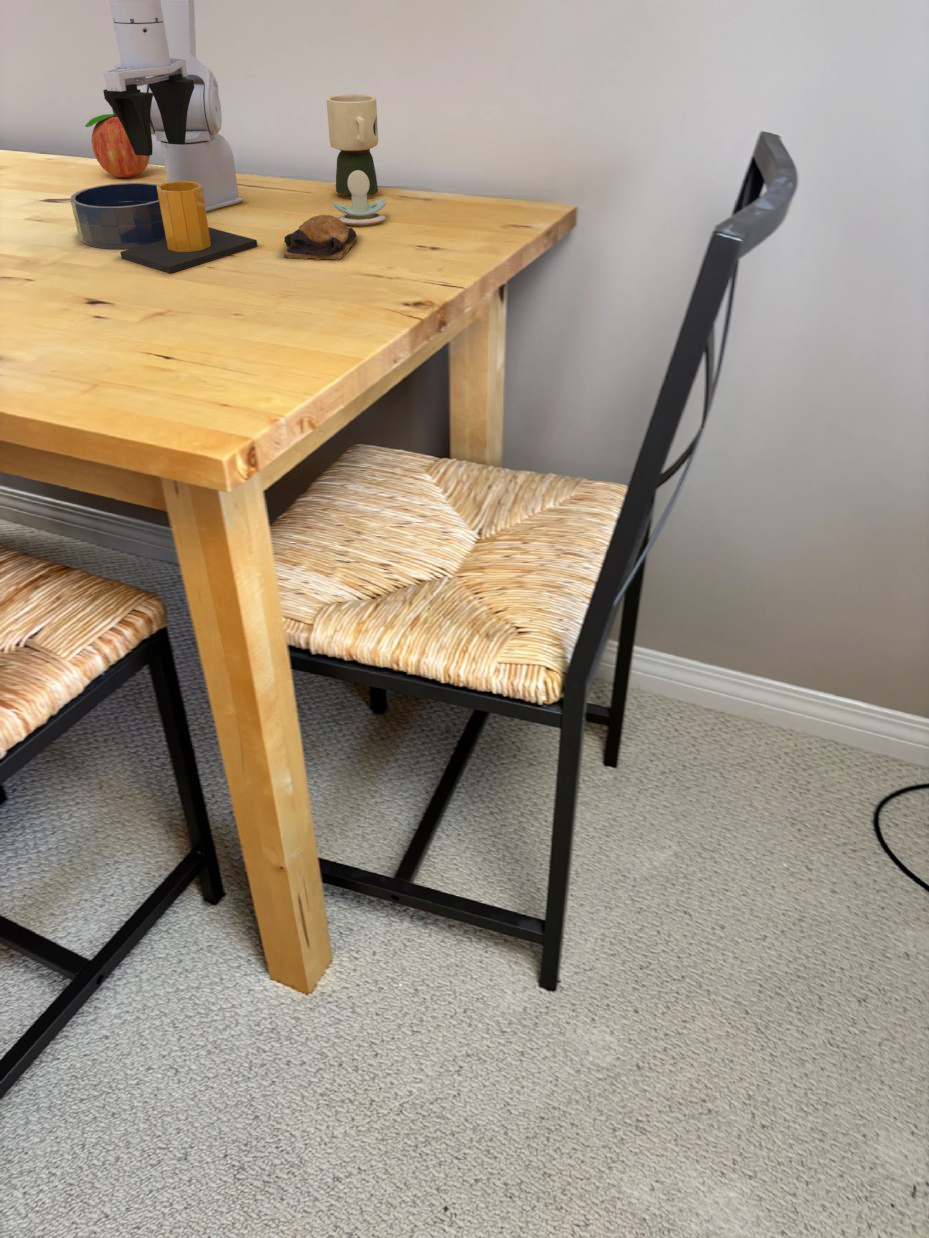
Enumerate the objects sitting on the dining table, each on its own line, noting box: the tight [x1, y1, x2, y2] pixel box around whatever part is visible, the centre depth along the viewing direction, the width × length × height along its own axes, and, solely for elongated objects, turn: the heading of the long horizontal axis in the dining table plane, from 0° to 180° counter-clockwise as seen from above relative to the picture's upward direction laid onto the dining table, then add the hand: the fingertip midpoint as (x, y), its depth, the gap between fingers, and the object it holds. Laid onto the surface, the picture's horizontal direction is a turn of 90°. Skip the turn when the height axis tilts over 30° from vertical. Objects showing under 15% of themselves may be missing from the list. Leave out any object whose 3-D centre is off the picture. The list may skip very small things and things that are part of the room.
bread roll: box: [283, 214, 358, 261], centre depth 120 cm, size 11×8×4 cm
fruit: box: [84, 108, 151, 178], centre depth 147 cm, size 9×10×10 cm
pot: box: [70, 182, 166, 250], centre depth 123 cm, size 13×13×5 cm
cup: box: [157, 181, 211, 252], centre depth 116 cm, size 5×6×7 cm
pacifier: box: [332, 170, 387, 226], centre depth 128 cm, size 7×6×6 cm
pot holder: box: [119, 226, 258, 274], centre depth 119 cm, size 14×10×1 cm
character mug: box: [326, 93, 379, 196], centre depth 137 cm, size 11×7×13 cm, turn 22°
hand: (160, 149), depth 118 cm, fingers open, 7 cm apart
